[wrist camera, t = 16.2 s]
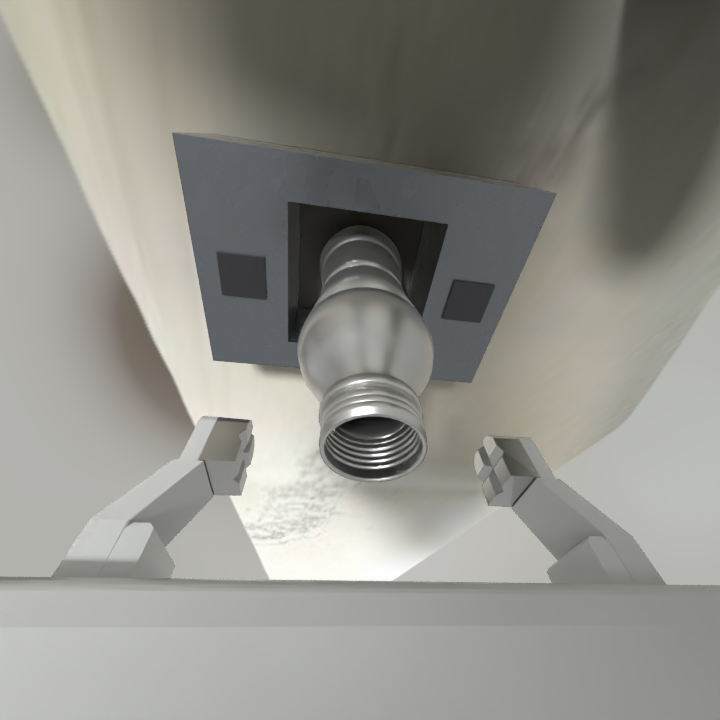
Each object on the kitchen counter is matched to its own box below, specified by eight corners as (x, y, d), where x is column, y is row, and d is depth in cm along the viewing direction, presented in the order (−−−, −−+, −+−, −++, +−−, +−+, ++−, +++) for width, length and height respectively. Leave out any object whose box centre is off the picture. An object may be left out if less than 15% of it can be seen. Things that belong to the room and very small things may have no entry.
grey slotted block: (212, 133, 21) (170, 132, 16) (513, 181, 23) (558, 194, 18) (235, 324, 30) (212, 361, 25) (452, 345, 32) (471, 384, 27)
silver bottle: (358, 308, 29) (367, 522, 13) (305, 255, 26) (230, 446, 10) (413, 263, 27) (509, 456, 10) (362, 199, 24) (386, 330, 7)
